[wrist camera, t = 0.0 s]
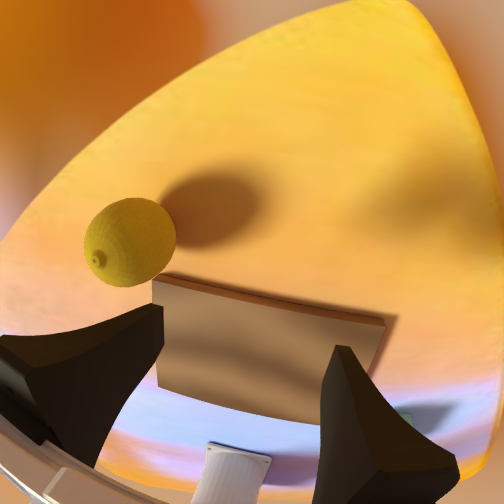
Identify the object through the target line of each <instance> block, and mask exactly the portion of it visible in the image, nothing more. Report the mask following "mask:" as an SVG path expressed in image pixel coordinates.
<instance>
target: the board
mask: <svg viewBox="0 0 504 504" xmlns="http://www.w3.org/2000/svg"><path fill="white" fill-rule="evenodd" d="M152 303H153V304H157V305H160V306H164V340H165V345H164V347H163V348H162V350H161V352H160V354H159V356H158V358H157V360H156V369H157V379H158V387H160V388H163V389H166V390H169V391H172V392H175V393H178V394H181V395H184V396H188V397H191V398H194V399H197V400H201V401H204V402H208V403H211V404H215V405H219V406H223V407H226V408H230V409H235V410H239V411H243V412H247V413H252V414H256V415H261V416H266V417H271V418H276V419H282V420H287V421H293V422H300V423H306V424H313V425H320V397H321V388H322V380H323V378H324V375H325V372H326V370H327V367H328V364H329V362H330V359H331V356H332V353H333V350H334V348H335V345H336V344H337V345H343V346H350V347H351V349H352V350H353V352H354V354H355V355H356V357H357V359H358V360H359V362H360V364H361V365H362V367H363V369H364V370H365V372H366V373H367V371H368V369H369V367H370V364H371V362H372V360H373V358H374V355H375V353H376V351H377V348H378V346H379V344H380V341H381V339H382V336H383V334H384V331H385V329H386V325H385V323H384V320H383V319H381V318H374V317H368V316H362V315H356V314H350V313H344V312H339V311H333V310H327V309H322V308H316V307H311V306H305V305H300V304H295V303H290V302H284V301H279V300H274V299H269V298H264V297H259V296H255V295H250V294H245V293H240V292H235V291H231V290H226V289H222V288H217V287H213V286H208V285H204V284H199V283H195V282H190V281H186V280H182V279H178V278H173V277H169V276H165V275H161V274H158V275H157V276H156V277H155V278H153V279H152Z"/></svg>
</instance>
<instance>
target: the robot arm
mask: <svg viewBox="0 0 504 504" xmlns="http://www.w3.org/2000/svg"><path fill="white" fill-rule="evenodd" d="M164 345H165V340H164V306H160V305H157V304H153V303H150V304H146V305H144V306H141V307H139V308H136V309H134V310H131V311H129V312H127V313H124V314H122V315H119V316H117V317H114V318H112V319H109V320H106V321H103V322H101V323H98V324H95V325H92V326H89V327H85V328H82V329H77V330H73V331H69V332H63V333H56V334H50V335H37V336H16V335H2V336H1V337H0V472H1V473H2V474H3V475H4V476H5V477H6V478H7V479H9V480H10V481H11V482H12V483H13V484H14V485H15V486H16V487H18V488H19V489H20V490H21V491H22V492H23V493H24V494H26V495H27V496H28V497H29V498H30V499H32V500H31V502H30V503H29V504H169V503H166V502H164V501H161V500H158V499H156V498H153V497H151V496H148V495H146V494H144V493H141V492H139V491H136V490H134V489H132V488H130V487H128V486H125V485H123V484H121V483H119V482H117V481H115V480H113V479H111V478H109V477H107V476H105V475H103V474H102V473H100V472H98V471H96V470H94V467H95V464H96V461H97V459H98V456H99V454H100V451H101V449H102V447H103V445H104V442H105V440H106V438H107V436H108V434H109V432H110V430H111V428H112V426H113V424H114V422H115V420H116V418H117V416H118V414H119V413H120V411H121V409H122V407H123V406H124V404H125V402H126V401H127V399H128V398H129V396H130V395H131V394H132V392H133V391H134V390H135V388H136V387H137V386H138V384H139V383H140V382H141V380H142V379H143V378H144V376H145V375H146V374H147V372H148V371H149V370H150V368H151V367H152V366H153V364H154V363H155V361H156V360H157V358H158V356H159V354H160V352H161V350H162V348H163V347H164ZM320 439H321V446H320V459H319V466H318V473H317V479H316V485H315V491H314V496H313V500H312V504H436V503H435V502H436V501H437V500H439V499H440V498H442V497H443V496H444V495H445V494H447V493H448V492H449V491H450V490H451V489H452V488H453V487H454V486H455V485H456V484H457V483H458V481H459V479H460V473H459V469H458V465H457V461H456V458H455V455H454V454H452V453H450V452H449V451H447V450H445V449H443V448H442V447H440V446H438V445H436V444H435V443H433V442H432V441H430V440H429V439H428V438H426V437H425V436H423V435H422V434H421V433H419V432H418V431H417V430H416V429H414V428H413V427H412V426H411V425H410V424H409V423H408V422H407V421H405V420H404V419H403V418H402V417H401V416H400V415H399V414H398V413H397V412H396V411H395V410H394V408H393V407H392V406H391V405H390V404H389V403H388V402H387V401H386V399H385V398H384V397H383V396H382V394H381V393H380V392H379V390H378V389H377V388H376V386H375V385H374V384H373V382H372V381H371V379H370V378H369V376H368V375H367V373H366V372H365V370H364V369H363V367H362V365H361V364H360V362H359V360H358V359H357V357H356V355H355V354H354V352H353V350H352V349H351V347H350V346H343V345H337V344H336V345H335V348H334V350H333V353H332V356H331V359H330V362H329V364H328V367H327V370H326V372H325V375H324V378H323V380H322V388H321V397H320ZM271 461H272V458H271V457H270V456H265V455H260V454H255V453H250V452H245V451H241V450H237V449H233V448H229V447H225V446H221V445H217V444H213V443H209V442H208V443H206V448H205V468H204V471H203V473H202V476H201V478H200V481H199V483H198V486H197V488H196V491H195V493H194V496H193V498H192V500H191V503H190V504H256V502H257V498H258V494H259V490H260V487H261V485H262V482H263V480H264V478H265V475H266V473H267V471H268V468H269V466H270V463H271Z"/></svg>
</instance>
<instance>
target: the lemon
mask: <svg viewBox="0 0 504 504" xmlns="http://www.w3.org/2000/svg"><path fill="white" fill-rule="evenodd" d="M175 246H176V230H175V226H174V223H173V220H172V219H171V217H170V215H169V214H168V212H167V211H166V210H165V209H164V208H163V207H162V206H160V205H159V204H157V203H155V202H154V201H151V200H148V199H144V198H127V199H123V200H120V201H117V202H115V203H112V204H110V205H109V206H107V207H106V208H105V209H103V210H102V211H101V212H100V213H99V214H97V215H96V216H95V217H94V219H93V220H92V222H91V223H90V225H89V226H88V229H87V231H86V235H85V239H84V253H85V257H86V261H87V263H88V265H89V267H90V269H91V270H92V272H93V273H94V274H95V275H96V276H97V277H98V278H99V279H100V280H102V281H103V282H105V283H107V284H109V285H112V286H116V287H132V286H136V285H139V284H142V283H145V282H147V281H149V280H151V279H152V278H153V277H155V276H156V275H157V274H159V273H160V272H161V271H162V270H163V269H164V268H165V267H166V265H167V264H168V262H169V261H170V260H171V258H172V255H173V253H174V250H175Z"/></svg>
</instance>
